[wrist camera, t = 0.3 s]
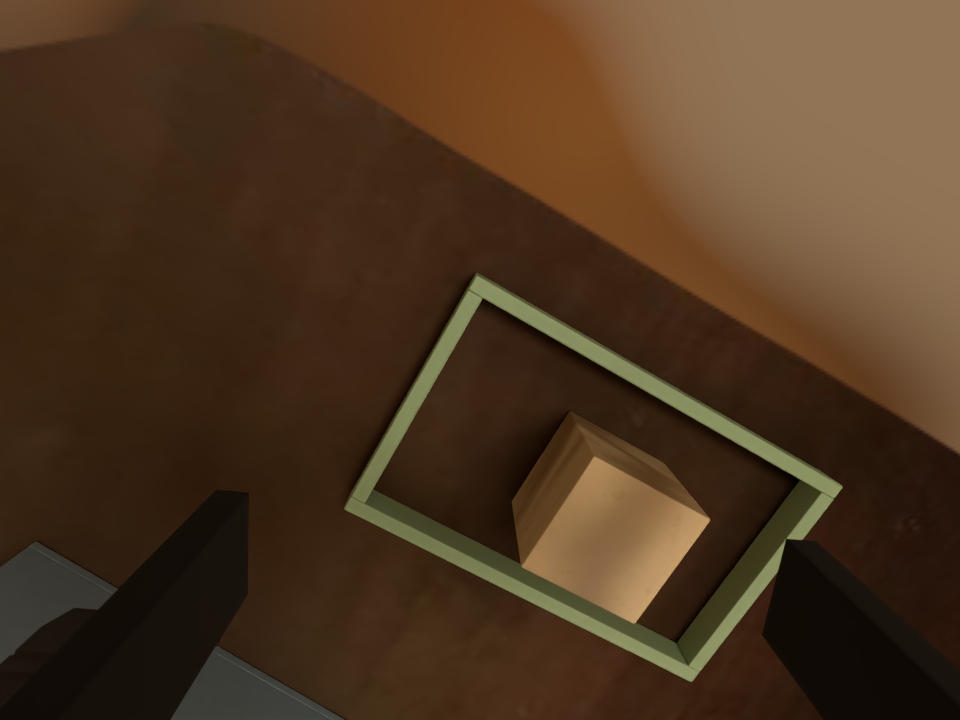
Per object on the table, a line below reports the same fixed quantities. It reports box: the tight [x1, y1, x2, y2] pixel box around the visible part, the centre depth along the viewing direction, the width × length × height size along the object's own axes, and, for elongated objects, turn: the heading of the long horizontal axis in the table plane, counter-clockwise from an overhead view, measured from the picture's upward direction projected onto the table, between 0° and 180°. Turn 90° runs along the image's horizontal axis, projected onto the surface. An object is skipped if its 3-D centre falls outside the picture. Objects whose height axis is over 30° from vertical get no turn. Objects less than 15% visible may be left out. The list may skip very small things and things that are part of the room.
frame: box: [344, 273, 842, 682], centre depth 29 cm, size 22×14×2 cm, turn 60°
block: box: [512, 411, 710, 624], centre depth 27 cm, size 6×6×6 cm
